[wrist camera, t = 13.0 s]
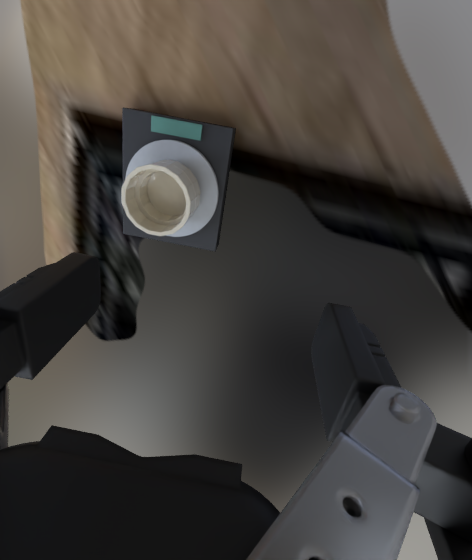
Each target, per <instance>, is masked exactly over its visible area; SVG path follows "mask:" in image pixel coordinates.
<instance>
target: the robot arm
mask: <svg viewBox="0 0 472 560" xmlns="http://www.w3.org/2000/svg"><path fill="white" fill-rule="evenodd" d="M100 300H101V287H100V265H99V260H98V258H97V257H95V256H90V255H85V254H80V253H75V252H73V253H71V254H69V255H68V256H66V257H64V258H63V259H61V260H60V261H58V262H57V263H53V264H50V265H47V266H44V267H41V268H38V269H37V270H35V271H33V272H32V273H30V274H28V275H27V277H24V278H22V279H20V280H19V281H17V283H14V284H12V285H10V286H9V287H7V288H5V289H4V290H2V291H1V292H0V560H397V558H398V554H399V552H400V549H401V546H402V543H403V540H404V538H405V535H406V532H407V529H408V526H409V523H410V520H411V517H412V514H413V512H415V513H417V514H419V515H421V516H422V517H424V519H425V522H426V525H427V528H428V531H429V534H430V537H431V539H432V542H433V545H434V548H435V551H436V554H437V557H438V560H472V438H470V437H468V436H465V435H463V434H461V433H458V432H456V431H454V430H452V429H449V428H447V427H445V426H442V425H440V424H438V423H436V418H435V416H434V414H433V412H432V411H431V410H430V408H429V407H428V406H427V405H426V404H425V403H424V402H423V401H422V400H421V399H420V398H419V397H417V396H416V395H414V394H413V393H411V392H409V391H407V390H405V389H403V388H401V386H400V384H399V382H398V380H397V378H396V376H395V375H394V372H393V370H392V368H391V366H390V364H389V362H388V360H387V358H386V357H385V354H384V352H383V350H382V348H380V344H379V342H378V340H377V338H376V336H375V335H374V333H372V332H371V331H370V330H369V329H368V328H367V327H366V326H365V325H364V324H361V323H358V321H357V319H356V317H355V315H354V312H353V310H352V308H351V307H348V306H343V305H338V304H332V303H327V304H326V306H325V308H324V311H323V314H322V316H321V319H320V322H319V325H318V328H317V330H316V333H315V337H314V339H313V343H312V350H311V353H312V354H311V355H312V361H313V367H314V372H315V378H316V384H317V389H318V394H319V400H320V406H321V411H322V417H323V422H324V428H325V433H326V439H327V441H332V442H333V443H332V444H331V446H330V447H329V448H328V449H327V451H326V452H325V454H324V455H323V456H322V458H321V459H320V460H319V462H318V463H317V464H316V466H315V467H314V469H313V470H312V471H311V472H310V474H309V475H308V477H307V478H306V479H305V481H304V482H303V484H302V485H301V486H300V487H299V489H298V490H297V491H296V493H295V494H294V496H293V497H292V498H291V499H290V501H289V502H288V504H287V505H286V506H285V508H284V509H283V510H282V512H281V513H280V512H279V511H278V510H277V509H276V508H275V507H274V505H273V504H272V503H270V501H269V500H268V499H266V498H265V497H264V496H263V495H262V494H261V493H260V492H258V491H257V490H255V489H254V488H252V487H251V486H249V485H248V484H246V483H244V482H242V481H241V471H242V464H238V463H234V462H229V461H224V460H219V459H214V458H209V457H204V456H199V455H179V456H160V457H141V456H138V455H136V454H134V453H132V452H130V451H128V450H126V449H124V448H122V447H121V446H119V445H117V444H115V443H113V442H111V441H109V440H107V439H105V438H103V437H101V436H99V435H96V434H92V433H87V432H81V431H77V430H72V429H67V428H62V427H57V426H51V427H50V428H49V430H48V431H47V433H46V434H45V435H44V437H43V438H42V439H41V441H36V442H29V443H23V444H19V445H15V446H11V447H8V420H9V387H8V381H9V380H11V378H13V377H14V376H16V377H20V378H26V379H31V380H32V379H34V377H35V376H36V375H37V374H38V373H39V372H40V371H41V370H42V369H43V368H44V367H45V366H46V365H47V364H48V362H49V361H50V360H51V359H52V358H53V357H54V356H55V355H56V354H57V353H58V352H59V351H60V350H61V349H62V347H64V346H65V344H66V343H67V342H68V341H69V340H70V339H71V338H72V337H73V336H74V335H75V334H76V333H77V332H78V331H79V330H80V328H81V327H82V326H83V325H84V324H85V323H86V322H87V321H88V320H89V319H90V318H91V317H92V316H93V315H94V314H95V312H96V311H97V309H98V307H99V304H100Z"/></svg>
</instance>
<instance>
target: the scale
mask: <svg viewBox="0 0 472 560" xmlns="http://www.w3.org/2000/svg"><path fill="white" fill-rule="evenodd" d="M235 131H236V128H232V127H226V126H221V125H216V124H210V123H205V122H200V121H195V120H189V119H184V118H179V117H173V116H168V115H163V114H157V113H152V112H147V111H142V110H136V109H130V108H123V184H124V182H125V179H126V177H127V175H129V174H130V173H131V172H132V171H133V170H134V169H136V168H137V167H140V166H143V165H146V164H150V163H153V162H156V161H160V160H164V159H167V160H173V161H178V162H180V163H181V164H183V165H184V166H186V167H187V168H189V169H190V170H191V172H192V173H193V175H194V176H195V177H196V179H197V181H198V184H199V188H200V193H201V194H200V203H199V206H198V208H197V210H196V211H195V213H194V215H193V216H192V217H191V218H190V219H189V220H188V222H187V223H186V224H185V225H184V226H183V227H182V228H181V229H179V230H178V231H176V232H175V233H174V234H170V235H165V236H157V235H151V234H147V233H146V232H144V231H142V230H141V229H139V228H137V227H136V226H135V225H134V224H133V223H132V221H131V220H130V219H129V218H128V217H127V215H126V213H125V210H124V207H123V234H128V235H133V236H139V237H144V238H149V239H154V240H159V241H165V242H170V243H175V244H180V245H185V246H190V247H195V248H200V249H206V250H211V251H216V249H217V246H218V244H219V237H220V231H221V224H222V217H223V211H224V204H225V198H226V190H227V184H228V177H229V171H230V164H231V157H232V151H233V144H234V137H235Z"/></svg>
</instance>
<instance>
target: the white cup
mask: <svg viewBox="0 0 472 560" xmlns="http://www.w3.org/2000/svg"><path fill="white" fill-rule="evenodd" d="M200 194H201V193H200V188H199V184H198V181H197V179H196V177H195V176H194V175H193V173H192V172H191V170H190V169H189V168H187V167H186V166H184V165H183V164H181V163H180V162H178V161H173V160H167V159H164V160H160V161H156V162H153V163H150V164H146V165H143V166H140V167H137V168H136V169H134V170H133V171H132V172H131V173H130V174H129V175H127V177H126V179H125V182H124V184H123V186H122V205H123V207H124V210H125V213H126V215H127V217H128V218H129V219H130V220H131V221H132V223H133V224H134V225H135V226H136V227H137V228H139V229H141V230H142V231H144V232H146V233H147V234H151V235H157V236H165V235H170V234H174V233H175V232H176V231H178V230H179V229H181V228H182V227H183V226H184V225H185V224H186V223H187V222H188V220H189V219H190V218H191V217H192V216H193V215H194V213H195V211H196V210H197V208H198V206H199V203H200Z"/></svg>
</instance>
